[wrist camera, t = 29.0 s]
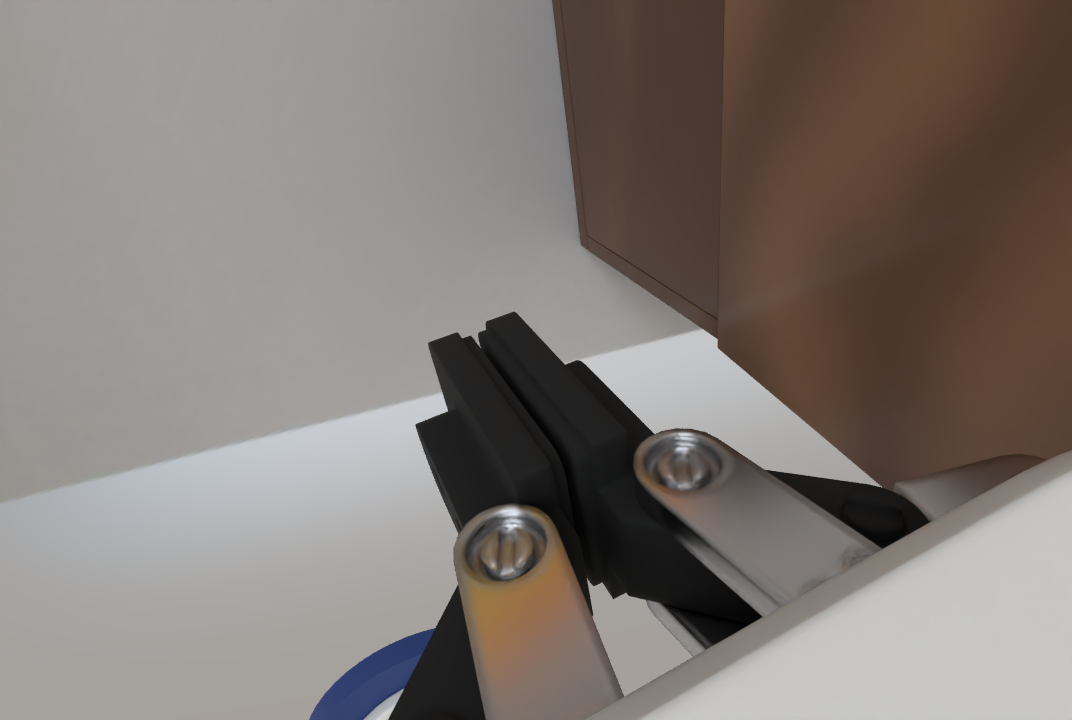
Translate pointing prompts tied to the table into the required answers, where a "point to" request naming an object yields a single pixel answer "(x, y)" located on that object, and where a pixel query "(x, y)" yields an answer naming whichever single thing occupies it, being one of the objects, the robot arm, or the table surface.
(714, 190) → the chest
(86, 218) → the table surface
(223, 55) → the table surface
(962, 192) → the lid
